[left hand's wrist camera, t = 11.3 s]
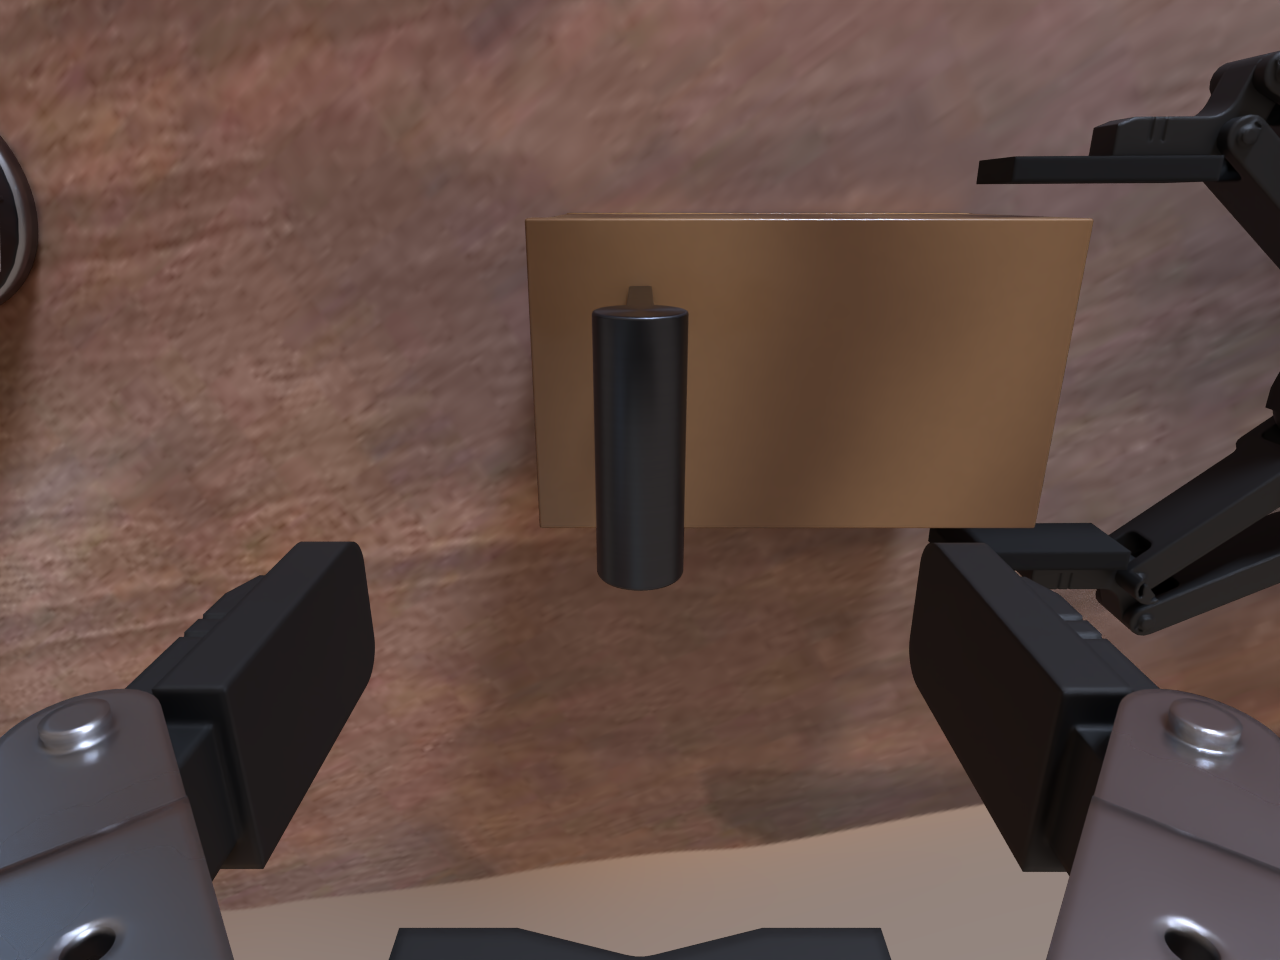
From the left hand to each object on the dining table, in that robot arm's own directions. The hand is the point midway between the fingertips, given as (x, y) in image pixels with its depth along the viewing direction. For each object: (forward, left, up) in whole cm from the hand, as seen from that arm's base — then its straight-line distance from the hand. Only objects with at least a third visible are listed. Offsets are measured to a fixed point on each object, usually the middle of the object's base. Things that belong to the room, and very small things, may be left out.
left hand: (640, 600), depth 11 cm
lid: (+4, -2, -15) cm, 16 cm away
